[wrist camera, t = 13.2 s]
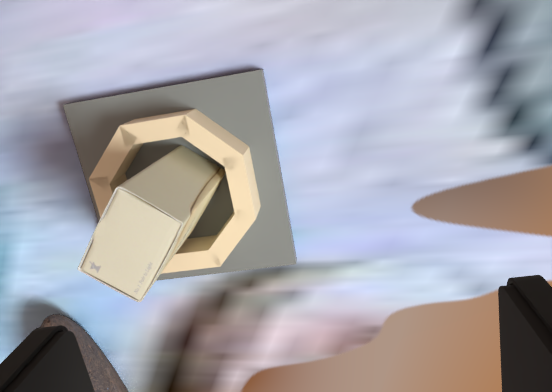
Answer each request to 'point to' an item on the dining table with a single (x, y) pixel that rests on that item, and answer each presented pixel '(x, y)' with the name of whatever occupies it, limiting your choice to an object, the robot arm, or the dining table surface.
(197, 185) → the skincare box
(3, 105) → the dining table surface
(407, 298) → the dining table surface
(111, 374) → the perforated stone tool
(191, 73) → the dining table surface
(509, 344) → the robot arm
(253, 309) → the dining table surface
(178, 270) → the collar board
